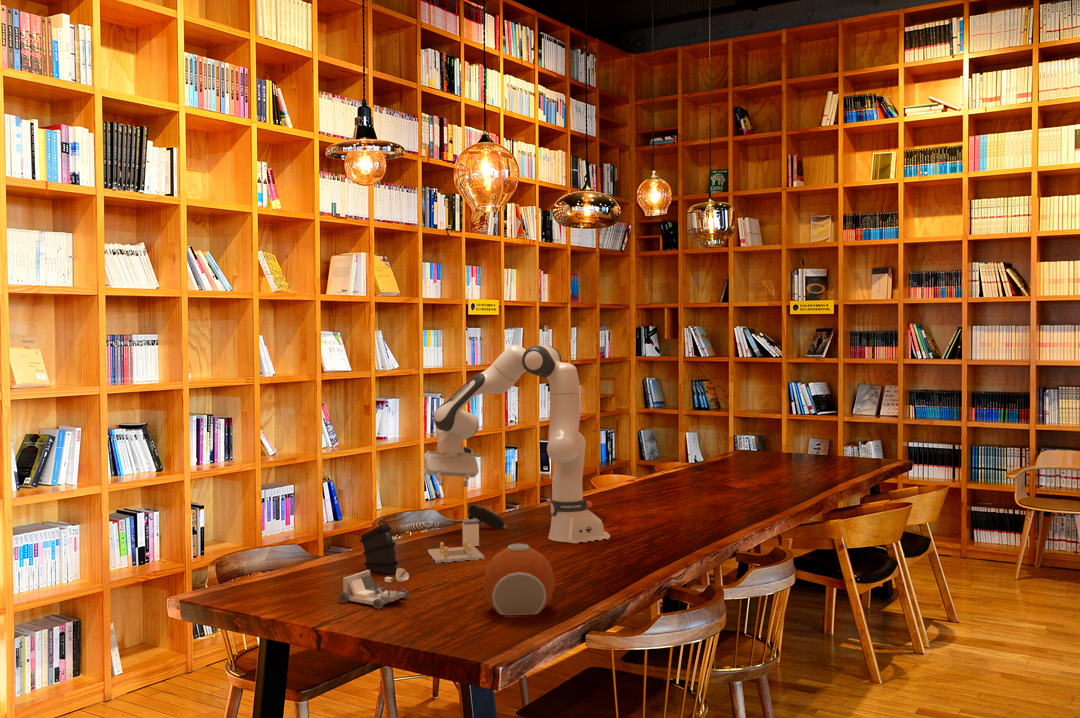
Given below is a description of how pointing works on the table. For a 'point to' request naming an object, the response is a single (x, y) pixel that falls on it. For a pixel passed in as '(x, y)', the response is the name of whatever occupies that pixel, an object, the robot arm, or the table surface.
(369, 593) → the toy lunar rover
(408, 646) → the table surface
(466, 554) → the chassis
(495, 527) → the gun
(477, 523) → the block
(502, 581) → the alarm clock
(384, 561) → the black ribbed panel
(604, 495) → the table surface
